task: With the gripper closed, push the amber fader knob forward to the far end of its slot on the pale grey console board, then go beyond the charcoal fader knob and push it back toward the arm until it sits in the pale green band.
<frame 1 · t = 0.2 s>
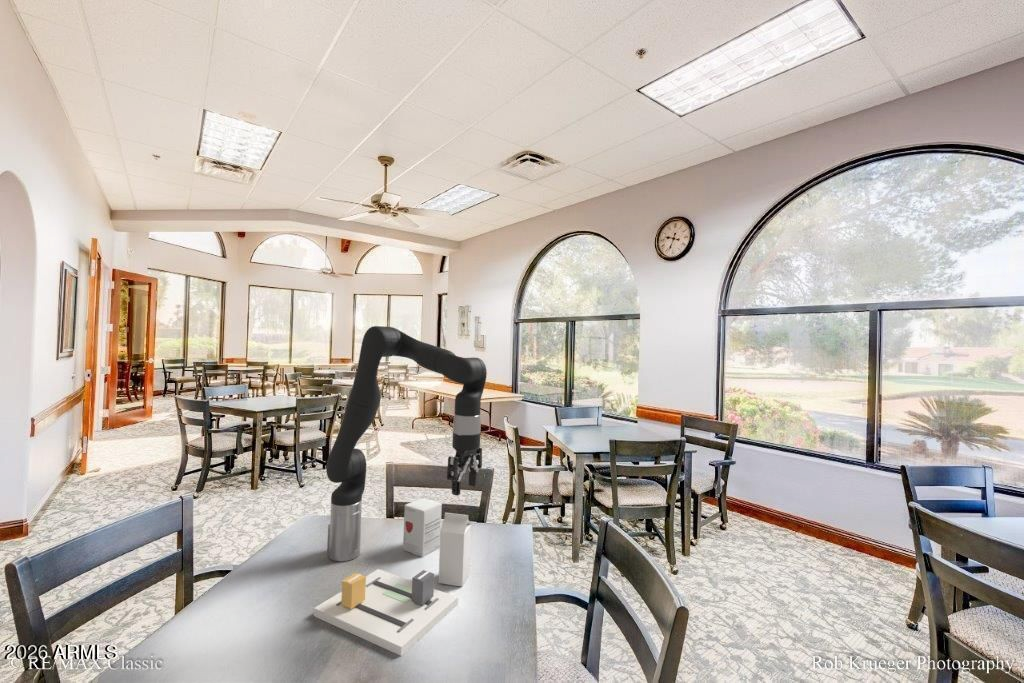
hand: (464, 490, 121), 29 cm above the table, fingers open, 8 cm apart
milk carton: (454, 579, 130), on the table
console board: (387, 610, 114), on the table
fader charcoal: (422, 586, 115), point 6 cm above the table, slide at 14.0 cm
fader amber: (353, 590, 113), point 6 cm above the table, slide at 0.0 cm
supplement box: (421, 549, 148), on the table
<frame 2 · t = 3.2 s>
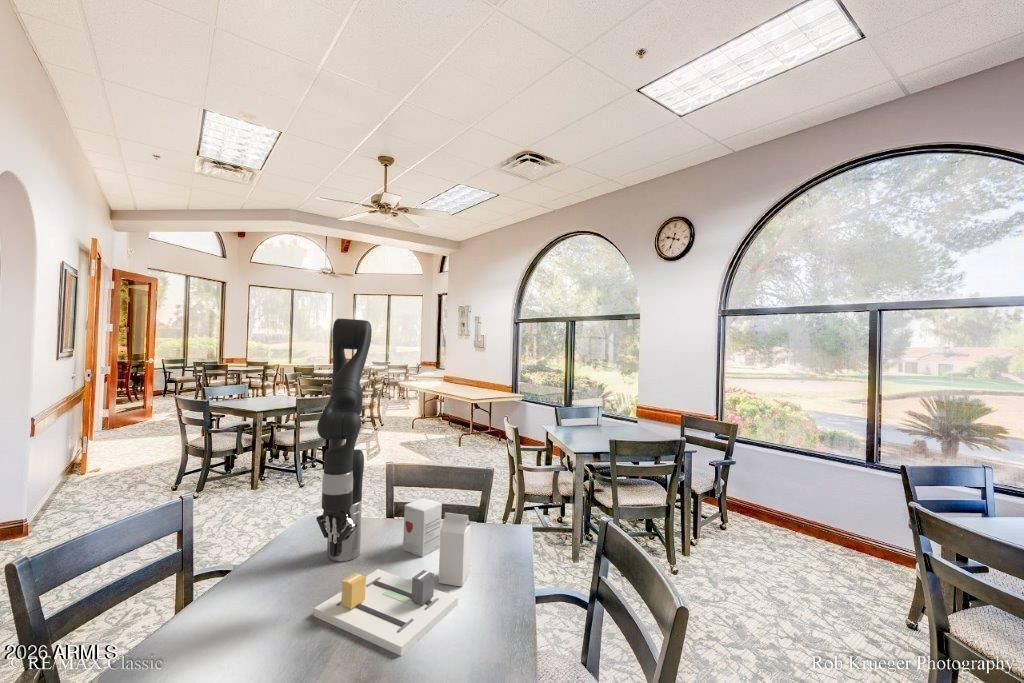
hand: (335, 555, 116), 13 cm above the table, fingers closed
nothing on the table moved.
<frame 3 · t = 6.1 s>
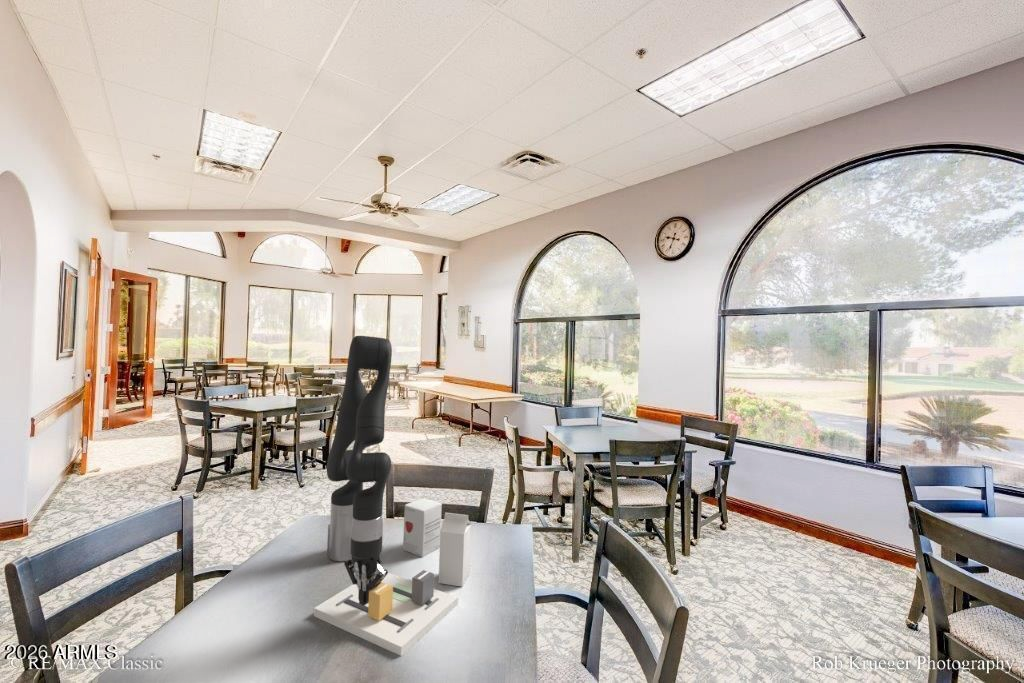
hand: (364, 603, 111), 4 cm above the table, fingers closed
fader amber: (380, 600, 108), point 6 cm above the table, slide at 9.1 cm, touching hand
everything else where it was.
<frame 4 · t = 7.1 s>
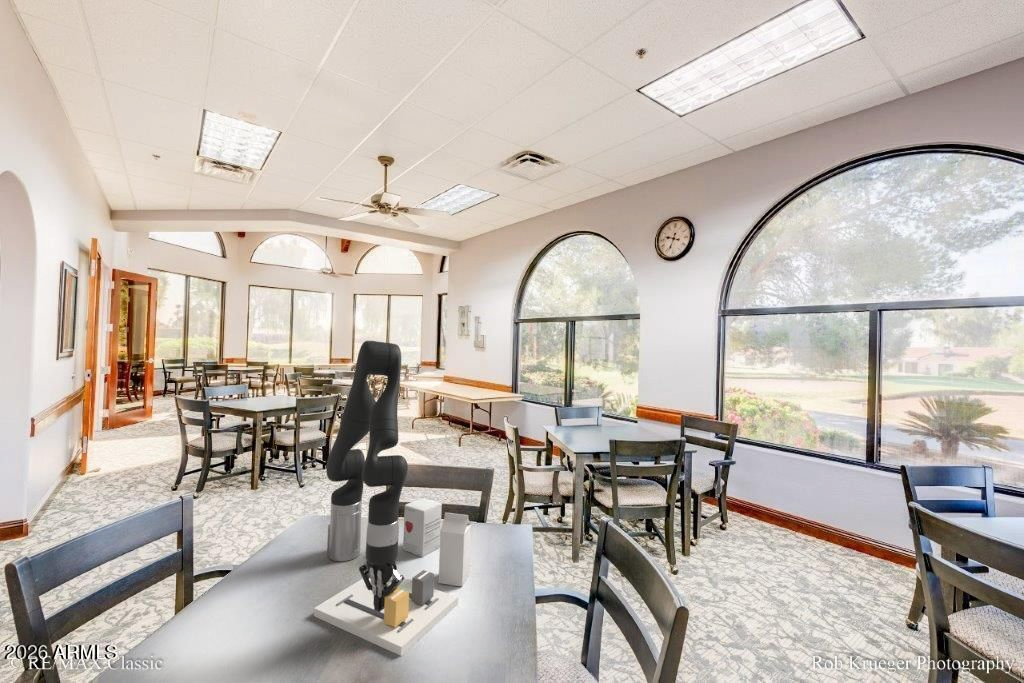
hand: (379, 609, 108), 4 cm above the table, fingers closed
fader amber: (396, 607, 106), point 6 cm above the table, slide at 14.1 cm, touching hand
everything else where it was.
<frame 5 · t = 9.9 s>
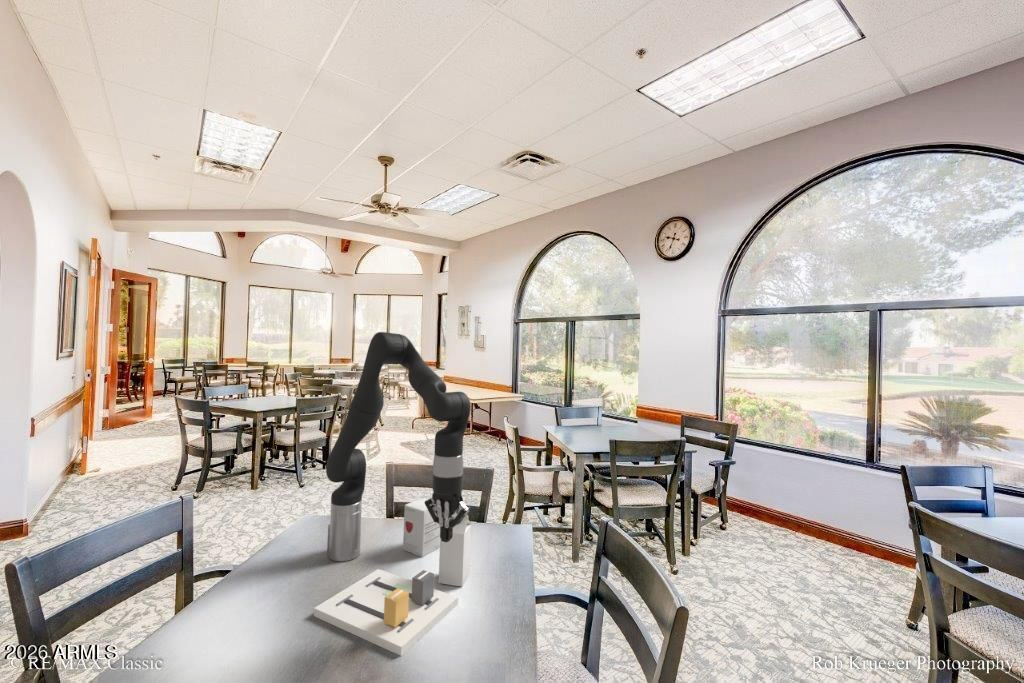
hand: (446, 540, 112), 19 cm above the table, fingers closed
fader amber: (396, 607, 106), point 6 cm above the table, slide at 14.0 cm
everything else where it was.
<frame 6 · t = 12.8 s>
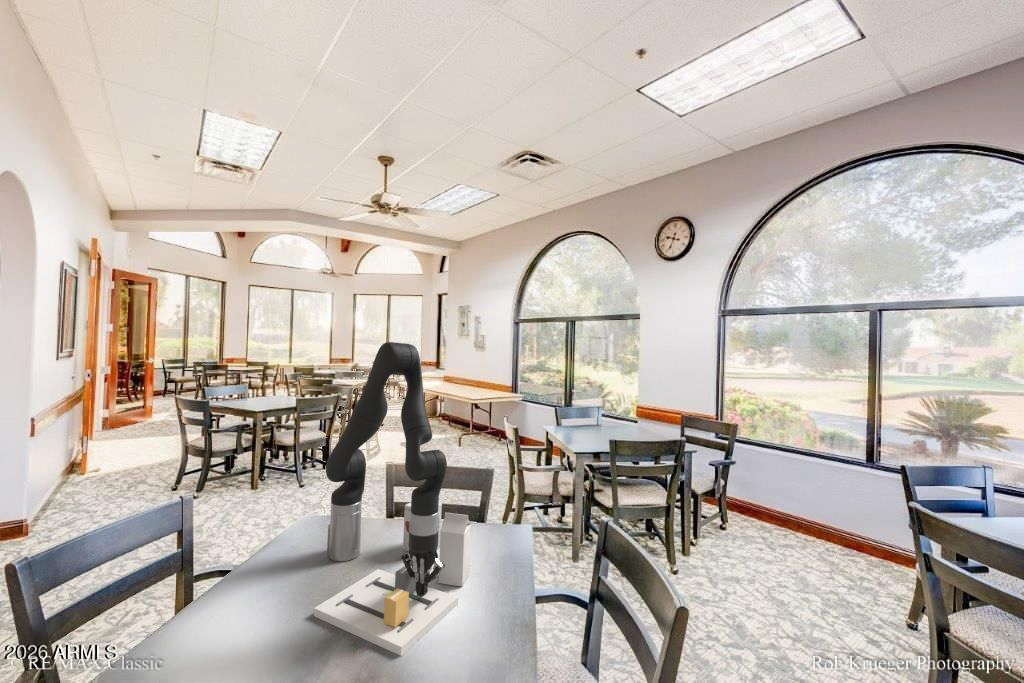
hand: (421, 595, 115), 3 cm above the table, fingers closed
fader charcoal: (406, 580, 118), point 6 cm above the table, slide at 8.4 cm, touching hand
everything else where it was.
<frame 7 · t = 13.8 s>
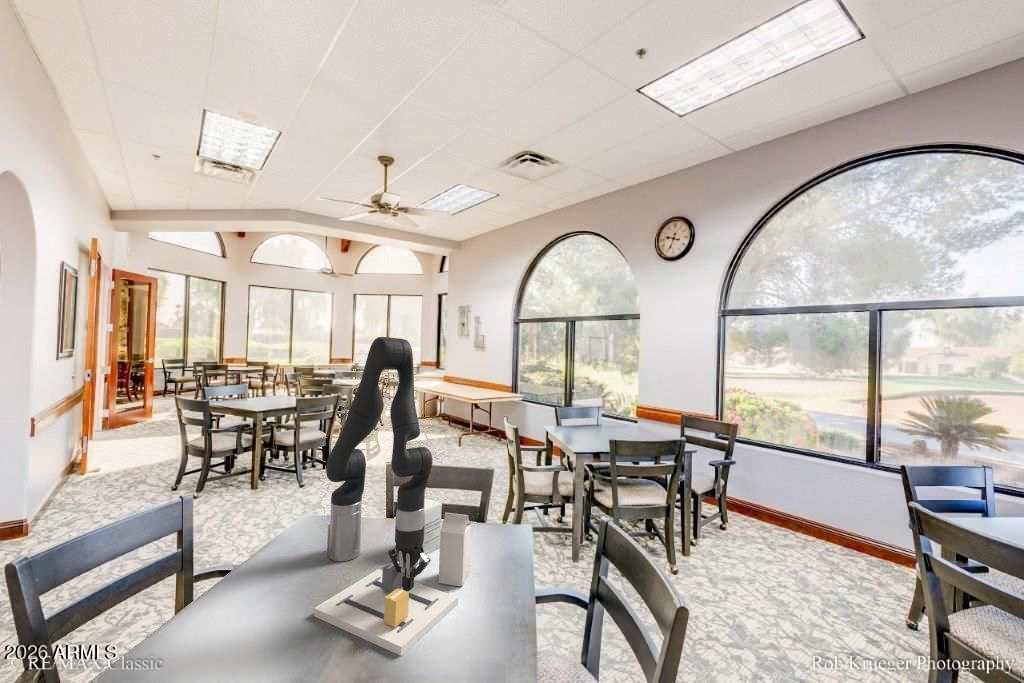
hand: (407, 589, 117), 3 cm above the table, fingers closed
fader charcoal: (393, 576, 120), point 6 cm above the table, slide at 3.9 cm, touching hand
everything else where it was.
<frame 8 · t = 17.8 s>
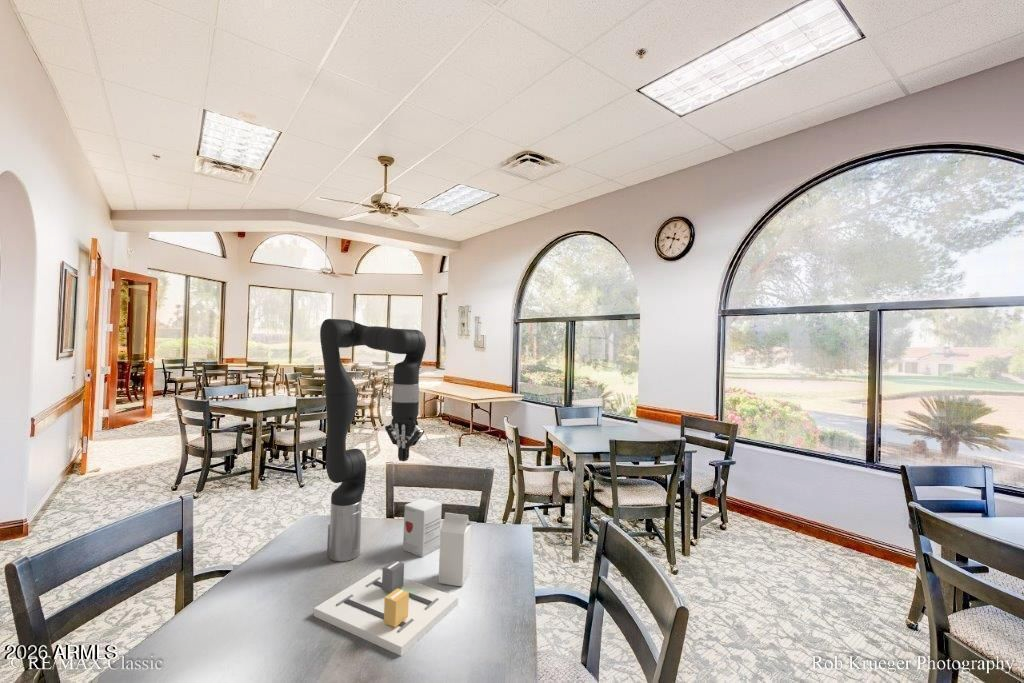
hand: (403, 460, 126), 35 cm above the table, fingers closed
fader charcoal: (393, 576, 120), point 6 cm above the table, slide at 3.9 cm
everything else where it was.
at the end: fader amber slide at 14.0 cm; fader charcoal slide at 3.9 cm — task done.
